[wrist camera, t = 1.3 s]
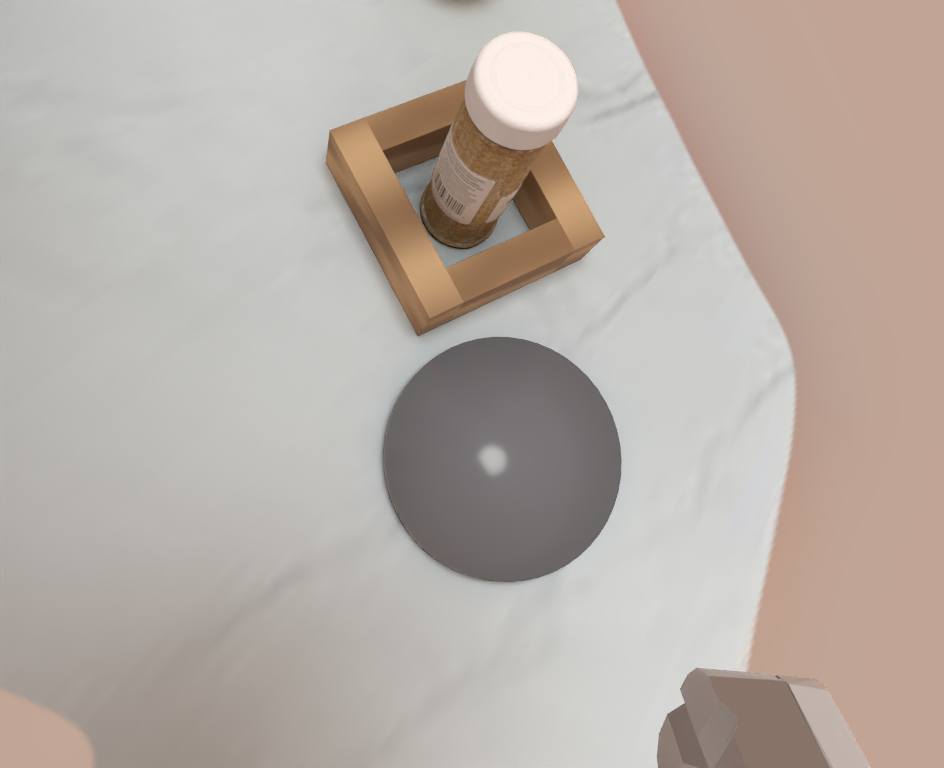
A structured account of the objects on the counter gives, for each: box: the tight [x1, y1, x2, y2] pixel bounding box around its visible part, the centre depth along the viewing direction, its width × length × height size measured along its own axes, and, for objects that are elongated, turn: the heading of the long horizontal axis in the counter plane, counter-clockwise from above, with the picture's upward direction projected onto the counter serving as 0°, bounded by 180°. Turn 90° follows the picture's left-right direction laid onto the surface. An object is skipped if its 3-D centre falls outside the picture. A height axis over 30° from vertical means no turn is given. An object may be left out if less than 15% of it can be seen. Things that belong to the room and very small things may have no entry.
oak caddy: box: [326, 80, 605, 336], centre depth 42 cm, size 11×11×4 cm
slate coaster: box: [383, 337, 621, 582], centre depth 41 cm, size 13×13×1 cm
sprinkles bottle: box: [420, 31, 578, 248], centre depth 38 cm, size 5×5×14 cm
